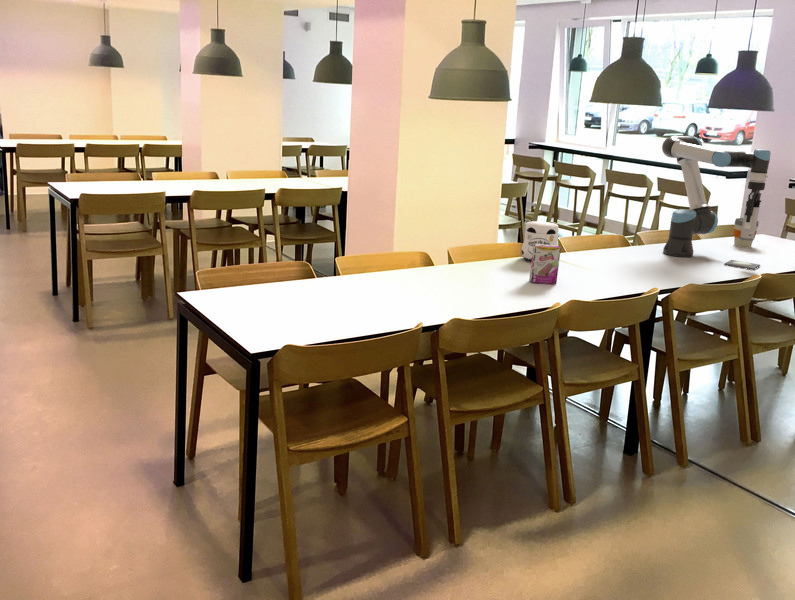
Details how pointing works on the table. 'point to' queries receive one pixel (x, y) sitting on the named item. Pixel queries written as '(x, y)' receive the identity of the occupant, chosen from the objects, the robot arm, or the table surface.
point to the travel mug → (749, 233)
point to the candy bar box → (544, 264)
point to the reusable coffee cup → (737, 234)
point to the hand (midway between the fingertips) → (749, 227)
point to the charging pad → (741, 264)
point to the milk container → (538, 236)
